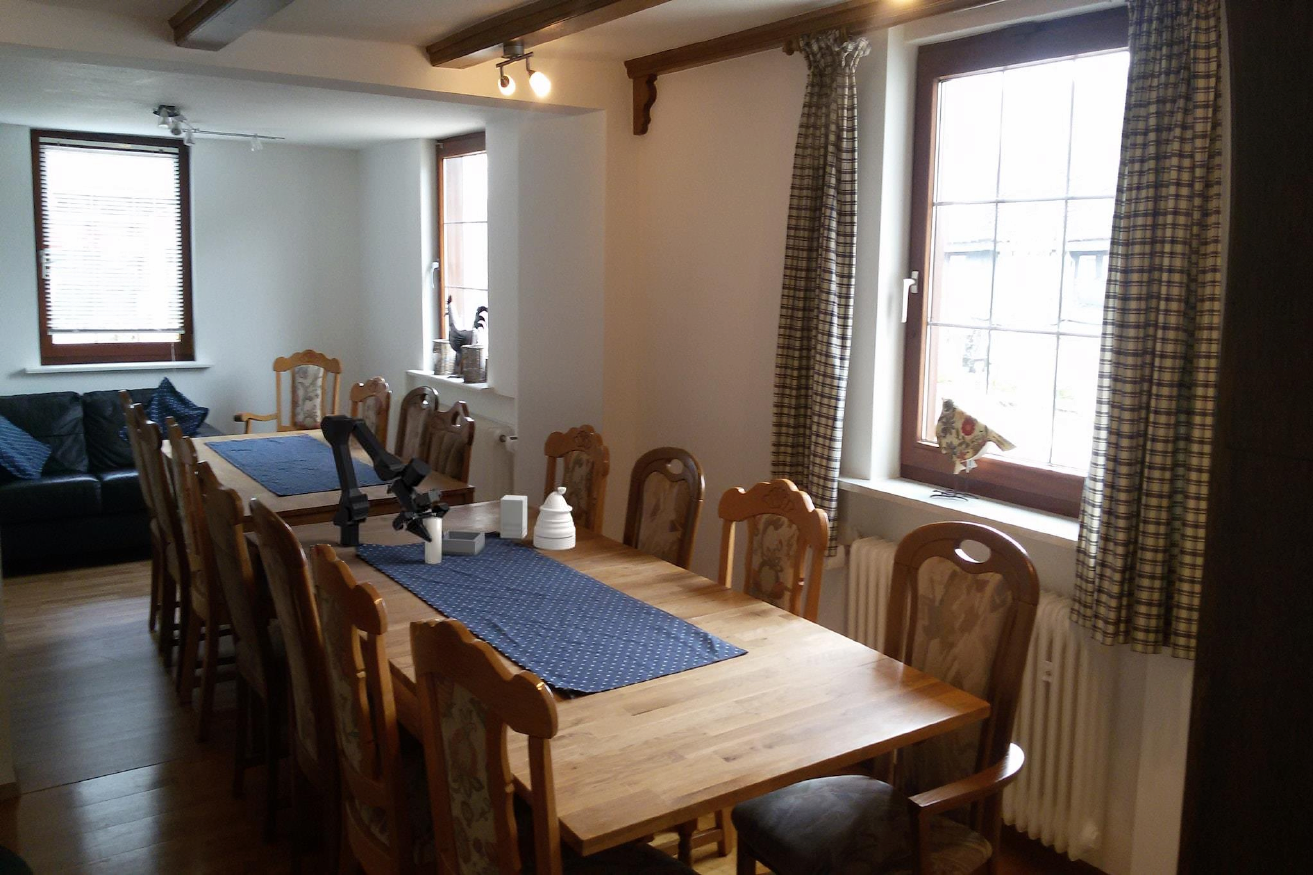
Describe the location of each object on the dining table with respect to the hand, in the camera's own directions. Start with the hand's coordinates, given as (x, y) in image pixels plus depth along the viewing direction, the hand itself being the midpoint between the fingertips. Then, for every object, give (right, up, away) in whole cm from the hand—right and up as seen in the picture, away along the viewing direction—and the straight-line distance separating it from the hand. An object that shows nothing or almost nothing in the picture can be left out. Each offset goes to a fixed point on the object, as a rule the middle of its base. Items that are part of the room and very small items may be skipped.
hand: (437, 540), depth 299 cm
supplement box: (+17, -2, +36) cm, 40 cm away
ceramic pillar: (-1, -6, +2) cm, 7 cm away
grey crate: (+4, -5, +16) cm, 17 cm away
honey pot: (+31, -4, +27) cm, 41 cm away
